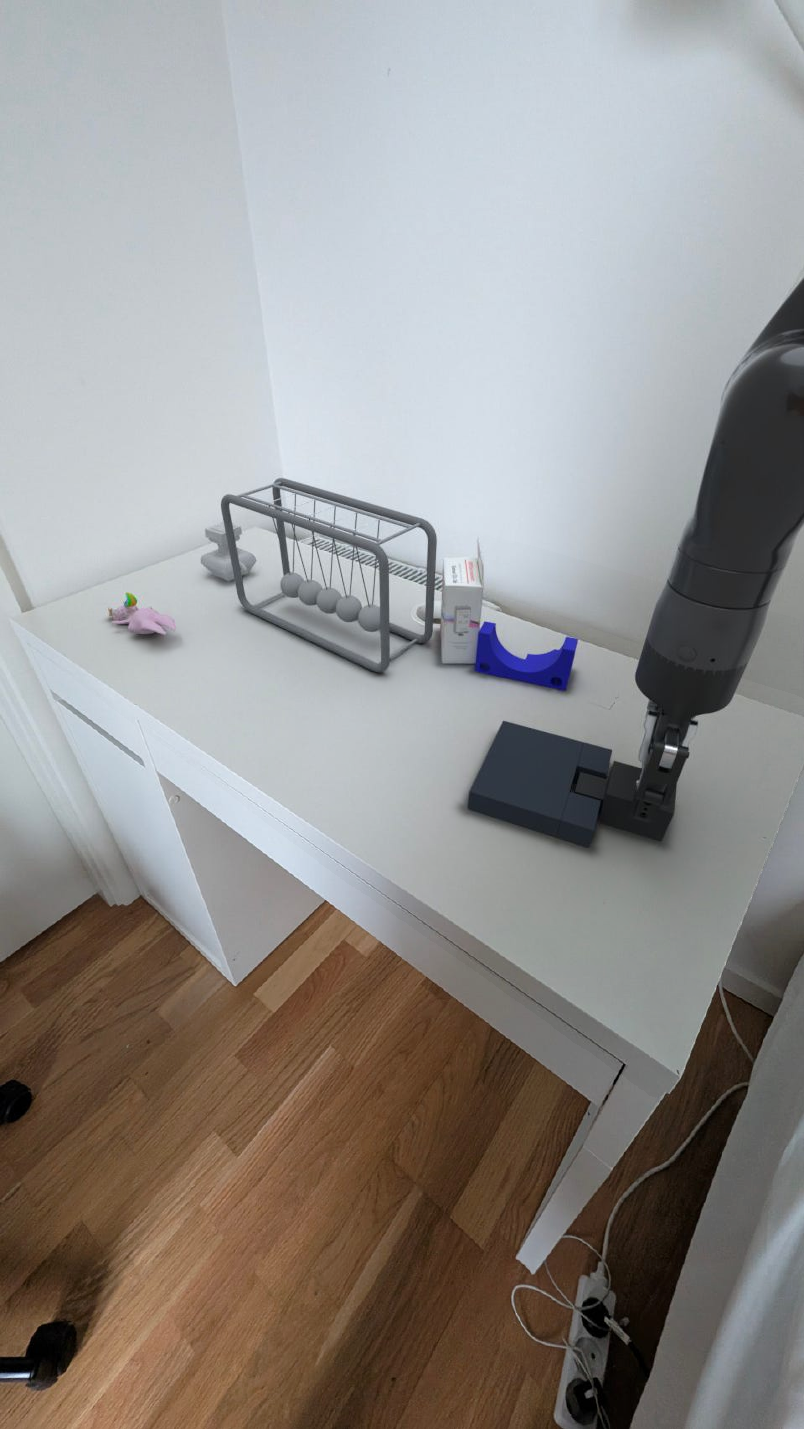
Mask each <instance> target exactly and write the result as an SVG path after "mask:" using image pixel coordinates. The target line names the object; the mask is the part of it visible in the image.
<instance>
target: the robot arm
mask: <svg viewBox="0 0 804 1429" xmlns="http://www.w3.org/2000/svg"><path fill="white" fill-rule="evenodd" d="M714 426H715V427H714V431H713V434H712V438H711V442H710V446H709V450H708V454H707V457H706V461H705V465H704V468H703V471H702V476H701V480H700V484H699V487H698V492H697V496H696V499H695V504H694V508H693V509H692V510H691V512H690V513H689V515H688V517H687V519H686V521H685V524H684V526H683V528H682V531H681V533H680V537H679V540H678V542H677V546H676V549H675V552H674V555H673V559H672V562H671V564H670V568H669V571H668V574H667V578H666V581H665V584H664V586H663V589H662V590H661V592H660V594H659V597H658V599H657V601H656V603H655V607H654V609H653V613H652V616H651V619H650V623H649V626H648V630H647V632H646V637H645V640H644V644H643V647H642V650H641V653H640V657H639V659H638V663H637V666H636V670H635V673H634V680H635V684H636V686H637V688H638V690H639V691H640V693H641V694H643V696H645V697H646V698H647V699H648V701H647V706H646V713H645V716H644V718H645V719H644V723H643V728H644V735H643V738H642V742H641V745H640V748H639V752H638V756H637V758H638V761H639V762H640V763H641V764H642V765H641V768H642V769H641V772H640V776H639V779H638V780H637V781H636V786H637V787H636V791H635V794H634V797H633V800H632V802H631V805H630V808H629V814H628V815H629V817H630V818H632V819H636V820H639V821H643V822H646V823H653V822H654V821H655V818H656V816H657V813H658V811H659V808H660V806H664V807H668V804H670V803H671V799H672V798H671V797H672V794H673V792H674V789H675V787H676V784H677V785H678V781H679V780H680V777H681V774H682V772H683V769H684V766H685V764H686V761H687V759H689V757H690V747H689V746H690V742H691V741H692V740H694V738H696V733H697V730H698V727H699V720H698V719H696V717H697V716H703V715H708V714H714V713H717V712H719V711H722V710H724V709H725V708H726V707H727V706H729V704H730V703H731V702H732V700H733V698H734V696H735V694H736V691H737V689H738V687H739V685H740V682H741V680H742V678H743V675H744V673H745V671H746V668H747V666H748V663H749V661H750V659H751V657H752V656H753V653H754V650H755V648H756V646H757V643H758V641H759V639H760V637H761V634H762V631H763V628H764V626H765V623H766V619H767V616H768V612H769V607H770V605H771V602H772V599H773V597H774V595H775V592H776V590H777V587H778V585H779V583H780V581H781V579H782V576H783V574H784V571H785V570H786V567H787V564H788V563H789V559H790V557H791V555H792V552H793V549H794V545H795V543H796V540H797V537H798V535H799V534H800V532H801V530H802V529H803V527H804V276H803V277H802V279H801V280H799V282H798V283H797V285H796V286H795V287H794V288H793V290H792V291H791V293H789V295H788V296H787V298H786V299H785V300H784V301H783V302H782V304H781V305H780V307H779V308H778V309H777V311H775V312H774V314H773V315H772V316H771V318H770V319H769V321H768V322H767V323H766V325H765V326H764V327H763V329H762V330H761V332H759V334H758V335H757V337H756V338H755V339H754V341H753V342H752V344H751V345H750V346H749V348H748V349H747V351H745V353H744V354H743V356H742V358H741V359H740V360H739V361H738V363H737V365H736V366H735V368H734V369H733V371H732V372H731V374H730V376H729V377H728V379H727V381H726V383H725V386H724V388H723V391H722V394H721V397H720V403H719V409H718V414H717V418H716V423H715V425H714Z"/></svg>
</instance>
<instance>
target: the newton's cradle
mask: <svg viewBox="0 0 804 1429" xmlns="http://www.w3.org/2000/svg"><path fill="white" fill-rule="evenodd" d="M270 488H271V490H272V498H273V500H271V501H265V500H263V499H259V498H256V497H253V496H250V495H252V494H255V493H259V492H262V491H266V490H269V489H270ZM281 490H282V491H285V492H288V493H292V494H289V495H286V496H283V497H281V496H282V494H281ZM293 495H294V506H292V507H290V508H286V507H284V506H283V505H282V499H285V498H288V497H290V496H293ZM297 495H299V496H301V497H304V498H308V499H311V500H308V501H306V502H304V503H300V504H297ZM316 501H318V502H321V503H325V504H327V505H331V506H329V507H328V508H325V509H322V510H319V511H317V512H316ZM311 502H314V503H313V513H312V514H309V515H308V514H305V513H301V512H299V511H297V510H296V508H297V507H299V506H302V505H305V504H309V503H311ZM230 504H232V505H235V506H237V507H241V508H244V509H246V510H250V511H252V512H255V513H258V514H260V515H264V516H267V517H270V518H271V519H272V522H273V525H274V529H275V531H276V535H277V538H278V544H279V545H278V546H279V552H280V559H281V566H282V574H283V576H282V577H281V579H280V583H279V584H280V585H279V587H280V590H281V592H279V593H277V594H275V595H272V596H271V597H269V598H267V599H264V600H262V601H261V602H258V603H256V604H254V605H253V604H251V603H250V602H249V600H248V598H247V596H246V592H245V586H244V581H243V575H241V569H240V564H239V558H238V553H237V548H238V547H237V543H236V542H237V541H236V542H235V536H234V531H233V525H232V524H233V521H232V515H231V510H230ZM337 507H338V508H341V509H344V510H347V511H351V512H353V513H351V514H348V515H346V516H344V517H340V518H339V519H336V511H337V510H336V508H337ZM331 508H333V510H334V512H333V521H331V522H329V521H326V520H323V519H320V518H316V517H315V516H316V514H319V513H320V512H321V513H322V512H324V511H327V510H329V509H331ZM292 509H294V510H292ZM220 511H221V516H222V522H224V527H225V532H226V537H227V542H228V548H229V553H230V558H231V563H232V569H233V574H234V579H233V580H234V584H235V590H236V594H237V597H238V601H239V603H240V604H241V606H242V607H243V608H244V610H246V611H247V612H249V613H251V614H253V615H255V616H257V617H258V618H259V617H260V618H261V619H263V620H266V621H268V622H270V623H272V624H274V625H276V626H278V627H280V628H282V629H285V630H286V631H288V632H291V633H293V634H295V635H296V636H299V637H300V638H301V637H302V638H303V639H305V640H307V641H310V642H311V643H313V644H316V645H318V646H320V647H322V648H324V649H326V650H328V651H330V652H333V653H335V654H337V655H339V656H341V657H343V658H345V659H347V660H350V661H351V662H354V663H355V664H358V665H360V666H362V667H364V668H365V669H368V670H370V671H371V672H375V673H384V672H385V671H387V670H388V668H389V666H390V663H391V662H390V661H391V659H392V658H394V657H395V656H397V655H399V654H400V653H401V652H403V651H405V650H406V649H407V648H409V647H411V646H412V645H414V644H415V643H419V644H426V643H427V642H429V641H430V640H431V639H432V637H433V632H434V613H435V612H434V611H435V590H436V568H437V546H438V545H437V544H438V539H437V532H436V530H435V528H434V527H433V525H432V524H431V522H429V521H428V520H426V519H424V518H422V517H418V516H416V515H415V516H414V515H411V514H407V513H405V512H401V511H397V510H394V509H391V508H387V507H384V506H380V505H377V504H373V503H370V502H367V501H364V500H360V499H356V498H353V497H350V496H346V495H343V494H339V493H336V492H333V491H329V490H325V489H322V488H319V487H317V486H316V487H315V486H312V485H309V484H305V483H301V482H298V481H295V480H292V479H288V478H285V477H279V478H277V479H275V480H274V482H273V483H271V484H268V485H265V486H261V487H259V488H256V489H252V490H249V491H246V492H243V493H240V494H237V495H234V494H231V493H230V494H229V493H227V494H225V495H223V496H222V498H221V500H220ZM358 514H360V515H363V516H367V517H370V518H373V519H376V520H373V521H371V522H368V523H367V524H364V525H361V526H359V527H357V522H358V521H357V520H358ZM352 515H355V521H354V529H351V528H347V527H344V526H341V525H339V524H336V522H338V521H340V520H342V519H346V518H347V517H350V516H352ZM377 521H378V522H377ZM380 521H383V522H387V523H390V524H391V525H392V524H393V525H396V526H399V527H402V528H403V529H402V530H400V531H397V532H396V533H394V534H392V535H389V536H387V537H385V538H382V539H381V538H379V536H380V524H381V523H380ZM375 522H377V534H376V537H375V536H372V535H368V534H367V533H366V534H365V533H362V532H359V531H358V530H359V529H361V528H364V527H366V526H369V525H371V524H372V523H375ZM285 523H287V524H290V525H291V529H292V531H293V542H292V543H293V545H292V546H293V547H292V555H293V556H292V571H291V568H290V560H289V553H288V544H287V537H286V535H287V534H286V529H285ZM296 527H299V528H302V529H304V530H307V531H310V532H311V535H312V539H311V540H312V542H311V564H310V578H309V579H308V576H307V572H306V569H305V564H304V561H303V557H302V553H301V550H300V545H299V543H298V539H297V538H298V537H297V535H296ZM416 528H419V529H421V530H423V531H424V532H425V535H426V537H427V555H426V582H425V583H426V585H425V588H426V589H425V607H424V608H425V611H424V632H423V634H419V633H416V632H414V631H412V630H409V629H406V628H404V627H402V626H399V625H397V624H396V623H392V622H390V563H389V558H388V555H387V553H386V552H385V550H384V549H383V548H382V546H381V545H383V544H385V543H386V542H389V541H391V540H394V539H395V538H397V537H399V536H402V535H403V534H406V533H408V532H410V531H412V530H414V529H416ZM315 533H316V534H319V535H322V536H324V537H326V538H327V537H328V538H330V539H332V542H331V544H332V545H331V557H330V558H331V559H330V576H329V586H327V583H326V578H325V575H324V571H323V566H322V563H321V562H322V561H321V558H320V555H319V549H318V546H317V543H316V538H315ZM336 541H340V542H342V543H344V544H347V545H351V546H353V547H352V559H351V569H350V570H351V571H350V583H349V594H347V591H346V586H345V582H344V578H343V572H342V568H341V563H340V559H339V555H338V550H337V546H336ZM295 542H296V546H297V550H298V553H299V558H300V560H301V564H302V567H303V572H304V575H305V578H306V580H305V579H304V577H303V576H302V575H301V574H299V573H296V572H295ZM314 547H315V550H316V553H317V558H318V562H319V566H320V571H321V575H322V578H323V583H324V586H325V588H323V586H322V585H321V584H320V583H319V581H316V580H314V579H313V564H314V561H313V559H314ZM358 548H359V549H362V550H365V551H368V552H371V553H372V554H373V555H374V556H375V560H374V572H373V587H372V599H371V603H370V601H369V597H368V591H367V588H366V587H367V586H366V582H365V578H364V573H363V568H362V564H361V563H362V562H361V559H360V555H359V551H358V550H359V549H358ZM334 550H335V554H336V559H337V563H338V568H339V572H340V578H341V582H342V586H343V590H344V596H342V594H341V593H340V591H339V590H337V589H336V588H334V587H332V572H333V561H334V560H333V559H334V555H333V554H334ZM355 550H356V555H357V560H358V564H359V569H360V573H361V579H362V583H363V587H364V592H365V596H366V602H367V604H366V605H364V606H363V605H362V603H361V601H360V599H359V598H357V597H356V596H354V595H351V593H352V581H353V570H354V560H355V557H354V556H355ZM377 561H378V574H379V576H378V577H379V578H378V579H379V582H378V583H379V605H377V604H374V601H375V600H374V599H375V586H376V573H377V572H376V571H377ZM283 595H285V597H288V598H290V599H297V598H298V599H299V600H300V602H301V603H302V604H304V605H306V606H310V607H313V606H316V605H317V608H318V609H319V611H321V612H322V613H324V614H326V615H328V614H329V615H332V614H335V613H336V616H337V617H338V618H339V619H340V620H341V621H343V622H344V623H354V622H356V621H358V622H357V623H358V624H359V626H360V628H361V629H362V630H364V631H366V632H369V633H375V632H378V631H379V630H380V662H379V663H378V662H375V661H373V660H371V659H369V658H366V657H364V656H362V655H360V654H358V653H356V652H353V651H352V650H349V649H347V648H345V647H343V646H341V645H339V644H336V643H335V642H332V641H330V640H328V639H325V638H324V637H321V636H320V635H317V634H315V633H313V632H311V631H309V630H306V629H304V628H303V627H300V626H298V625H296V624H293V623H292V622H290V621H288V620H286V619H283V618H282V617H279V616H277V615H274V614H272V613H270V612H268V611H265V610H264V609H262V608H259V607H260V606H262V605H264V604H266V603H268V602H270V601H273V600H274V599H277V598H279V597H281V596H283ZM390 632H392V633H394V634H396V635H398V636H401V637H403V638H406V639H408V640H410V641H409V642H408V643H407V644H405V645H404V646H402V647H400V648H399V649H398V650H396V651H394V652H393V653H391V652H390V651H391V650H390V649H391V647H390V646H391V645H390V643H391V642H390V641H391V640H390Z"/></svg>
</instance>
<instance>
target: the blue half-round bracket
mask: <svg viewBox="0 0 804 1429" xmlns="http://www.w3.org/2000/svg"><path fill="white" fill-rule="evenodd" d="M496 625H497V623H495V622H491V621H486V620H485V621H483V623H482V624H481V626H480V630H479V633H478V643H477V653H476V663H474V664H475V665H474V672H476V673H479V674H480V673H482V674H484V675H490V676H494V677H499V678H503V679H508V680H513V681H518V682H522V683H527V684H531V685H536V686H541V687H545V688H550V689H555V690H559V691H564V692H566V691H567V687H568V684H569V680H570V676H571V674H572V669H573V665H574V661H575V655H576V650H577V646H578V641H579V638H575V637H570V636H565V639H564V641H563V643H562V645H561V646H560V648H559V649H556V648H555V649H552V650H550V651H547V652H544V653H539V654H535V653H527V654H526V657H525V659H524V658H521V657H518V656H516V655H514V654H513V653H512V652H510V651H509V650H508V649H506V648H505V647H504V646H503V644H502V643H501V641H500V640H499V637H498V634H497V628H496V627H497V626H496Z"/></svg>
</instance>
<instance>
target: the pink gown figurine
mask: <svg viewBox="0 0 804 1429" xmlns="http://www.w3.org/2000/svg"><path fill="white" fill-rule="evenodd" d="M125 595H126V599H125V601H124V600H123V601H122V603H123V605H121V606H119V607H117V608H116V609H114V608H112V607H111V608H110V607H109V606H107V609H108V618H111V619H112V622H111V624H112V625H114V626H115V625H125V624H128V626H127V627H128V628H127V629H128V631H129V632H130V633H133V634H140V635H151V634H154V633H158V634H160V635H163V636H166V635H167V632H166V631H165V629H164V628H166V629H169V630H171V631H173V632H175V631H176V629H177V626H176V622H175V620H174V617H172V616H171V615H168V614H161V613H159V611H157V610H156V609H153V607H152V606H148V607H141V608H138V606H137V604H138V599H137V597H135V595H134V594H133V593H130V592H125ZM163 627H164V628H163Z"/></svg>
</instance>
